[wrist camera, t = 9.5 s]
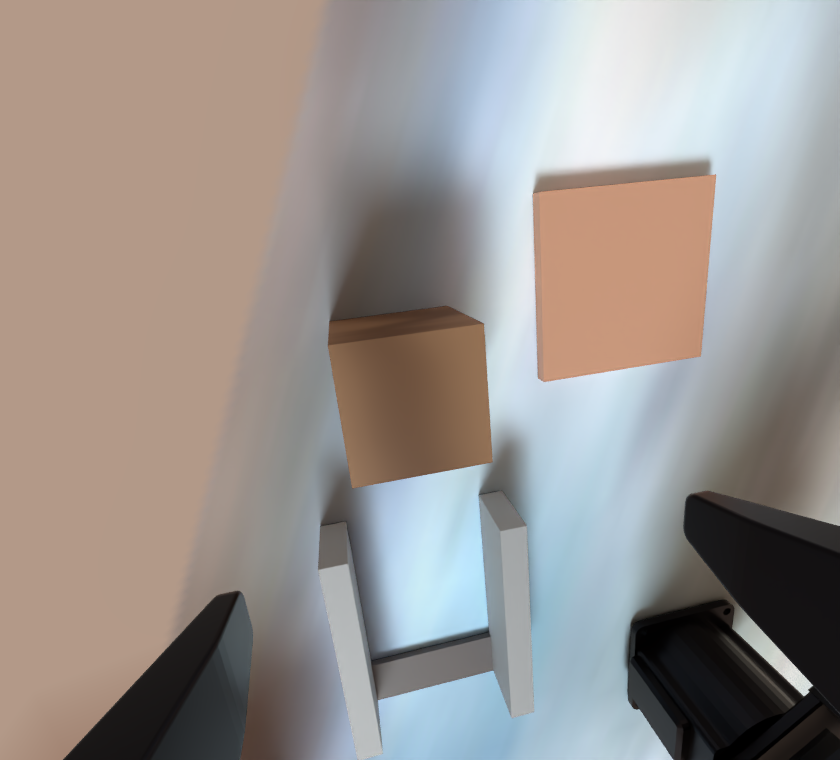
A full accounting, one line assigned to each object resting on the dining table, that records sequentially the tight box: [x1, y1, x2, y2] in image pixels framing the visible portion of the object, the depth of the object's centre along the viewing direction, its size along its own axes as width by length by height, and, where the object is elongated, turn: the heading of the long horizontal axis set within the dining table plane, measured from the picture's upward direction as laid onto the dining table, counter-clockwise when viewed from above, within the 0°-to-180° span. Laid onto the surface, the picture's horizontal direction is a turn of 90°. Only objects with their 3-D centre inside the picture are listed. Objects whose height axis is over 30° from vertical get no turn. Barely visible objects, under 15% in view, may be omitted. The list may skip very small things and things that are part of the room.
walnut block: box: [328, 306, 493, 488], centre depth 17 cm, size 5×5×5 cm
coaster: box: [533, 175, 716, 382], centre depth 20 cm, size 8×8×1 cm
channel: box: [318, 491, 534, 760], centre depth 22 cm, size 9×11×3 cm
